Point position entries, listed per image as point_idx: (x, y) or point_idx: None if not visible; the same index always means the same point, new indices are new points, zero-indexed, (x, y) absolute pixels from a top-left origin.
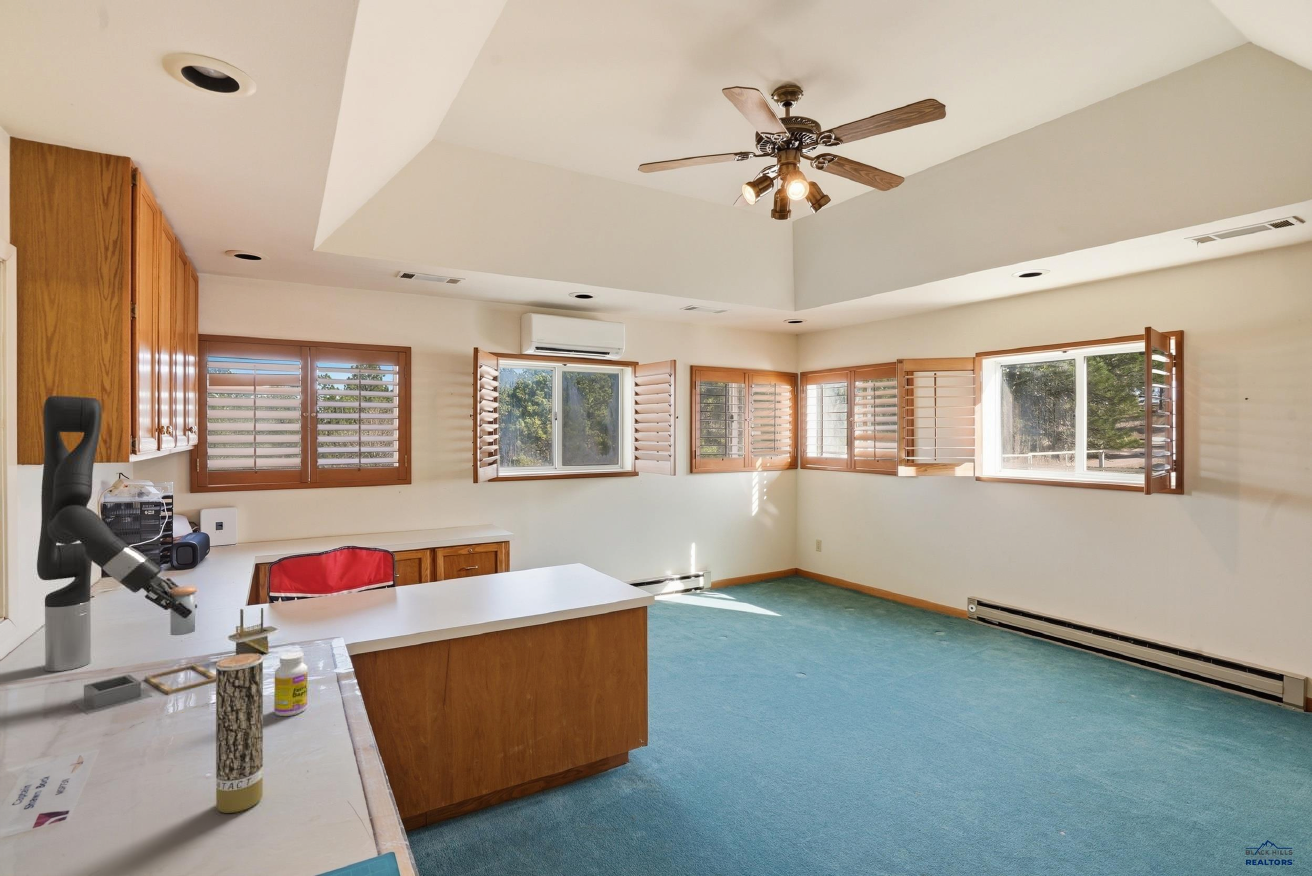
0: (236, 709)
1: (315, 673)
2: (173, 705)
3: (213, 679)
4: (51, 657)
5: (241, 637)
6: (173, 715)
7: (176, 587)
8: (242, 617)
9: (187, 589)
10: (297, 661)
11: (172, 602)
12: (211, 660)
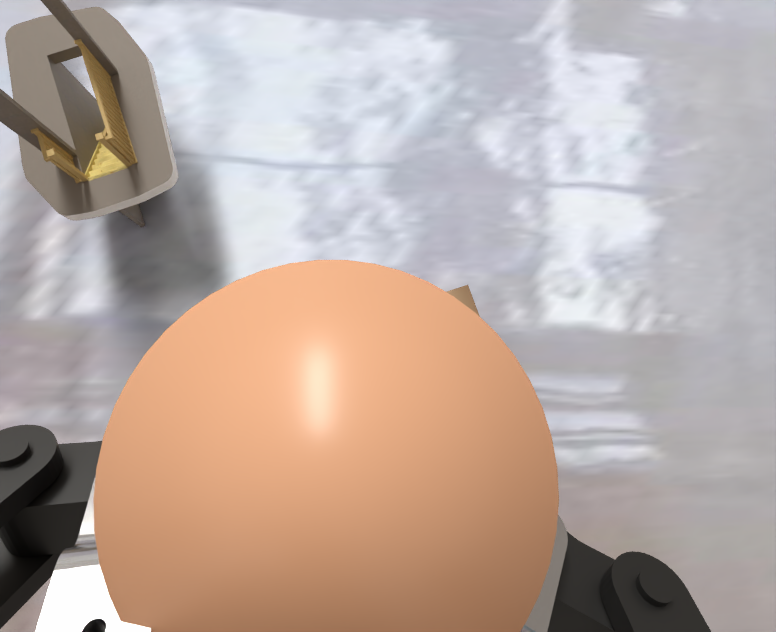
0: None
1: (513, 6)
2: (582, 445)
3: (476, 310)
4: None
5: (136, 161)
6: (689, 443)
7: (68, 601)
8: (8, 98)
9: (460, 404)
10: None
11: (680, 596)
12: (90, 313)
